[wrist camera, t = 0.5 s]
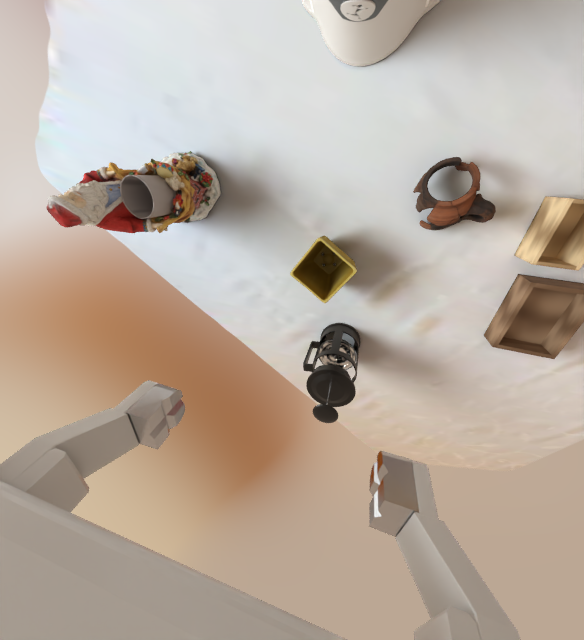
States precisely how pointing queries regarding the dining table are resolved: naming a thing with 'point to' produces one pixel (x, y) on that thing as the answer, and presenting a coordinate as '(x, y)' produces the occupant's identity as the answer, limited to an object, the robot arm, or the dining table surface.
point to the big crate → (537, 316)
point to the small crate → (555, 235)
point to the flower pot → (324, 269)
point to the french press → (332, 371)
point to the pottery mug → (452, 210)
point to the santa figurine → (140, 196)
